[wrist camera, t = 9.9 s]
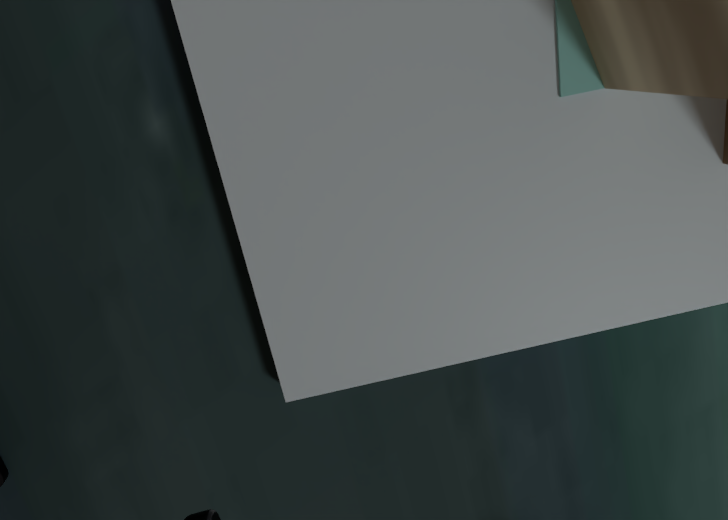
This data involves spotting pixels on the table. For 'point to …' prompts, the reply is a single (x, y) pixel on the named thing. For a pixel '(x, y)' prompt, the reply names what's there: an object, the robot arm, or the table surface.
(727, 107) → the cube
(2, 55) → the table surface
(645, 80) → the pillar
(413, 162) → the board
